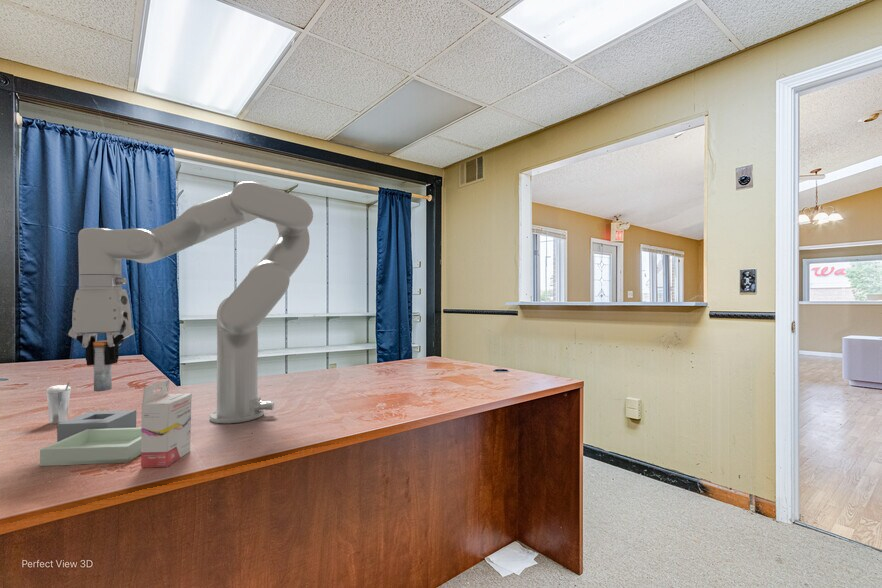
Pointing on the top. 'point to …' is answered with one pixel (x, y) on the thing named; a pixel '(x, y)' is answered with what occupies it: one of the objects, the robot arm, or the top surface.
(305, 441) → the top surface
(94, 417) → the socket block
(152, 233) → the robot arm
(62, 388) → the milkshake
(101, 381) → the pin
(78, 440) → the tray
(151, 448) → the ink cartridge box
